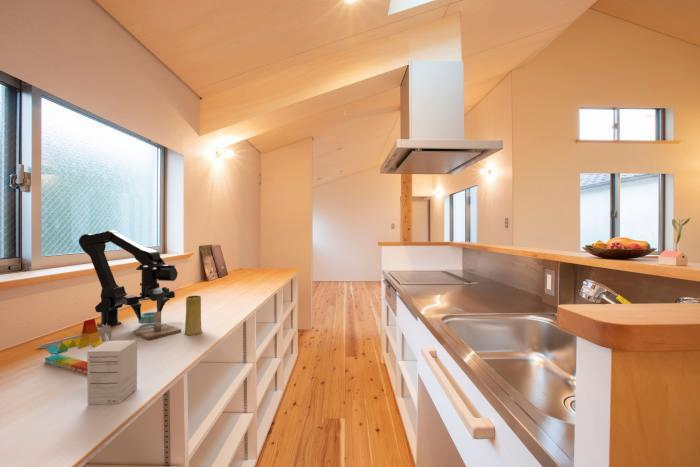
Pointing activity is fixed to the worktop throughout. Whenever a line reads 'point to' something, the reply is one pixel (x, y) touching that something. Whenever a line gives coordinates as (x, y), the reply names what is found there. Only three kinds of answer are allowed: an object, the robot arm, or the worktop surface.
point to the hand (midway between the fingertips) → (149, 317)
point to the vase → (193, 315)
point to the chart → (86, 337)
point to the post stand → (156, 329)
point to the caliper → (100, 332)
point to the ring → (147, 318)
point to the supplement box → (111, 372)
